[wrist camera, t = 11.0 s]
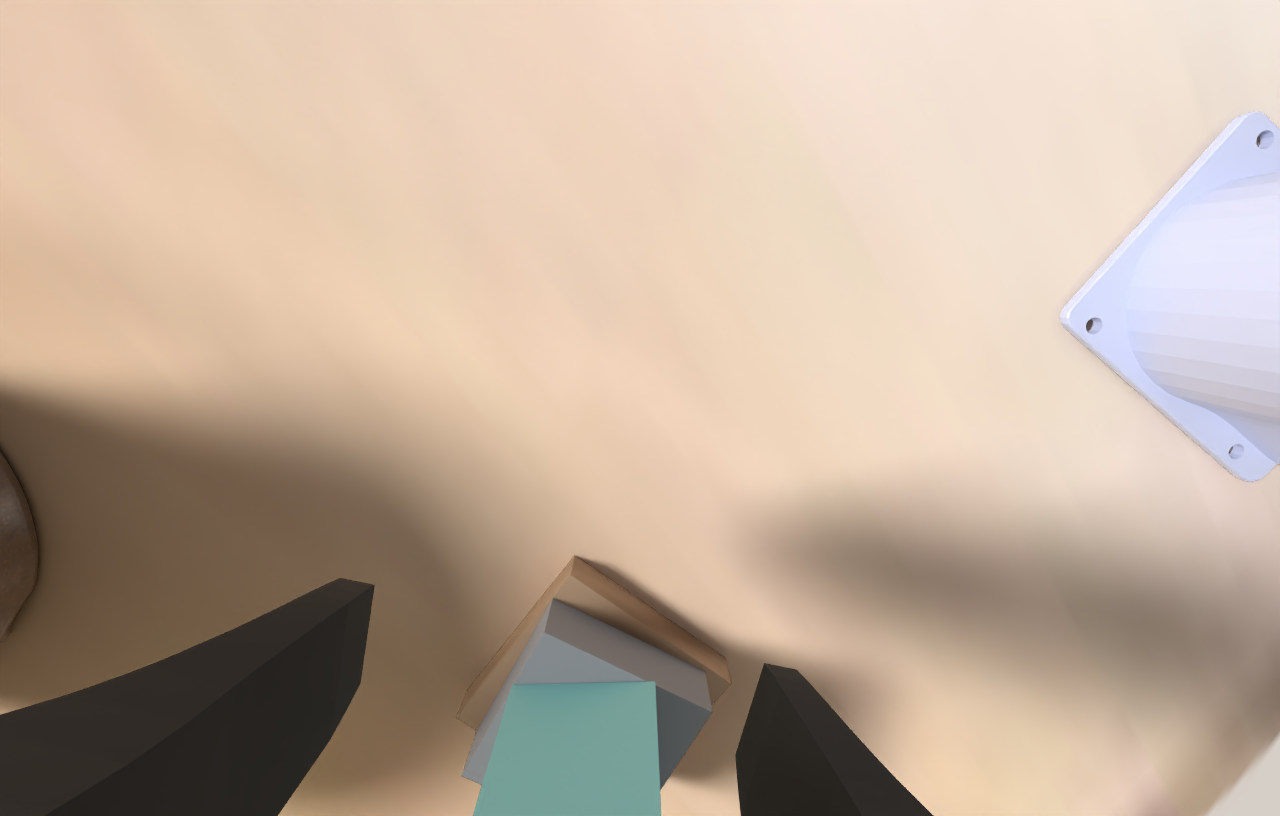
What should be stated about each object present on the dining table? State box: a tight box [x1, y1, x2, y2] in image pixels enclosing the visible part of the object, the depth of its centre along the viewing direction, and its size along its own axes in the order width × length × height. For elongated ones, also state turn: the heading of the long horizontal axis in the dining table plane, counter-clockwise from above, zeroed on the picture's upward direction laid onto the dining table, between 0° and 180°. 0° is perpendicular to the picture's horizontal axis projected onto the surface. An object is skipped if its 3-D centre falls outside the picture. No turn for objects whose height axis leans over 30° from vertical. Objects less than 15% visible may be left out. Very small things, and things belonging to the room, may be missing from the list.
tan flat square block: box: [456, 556, 731, 730], centre depth 22 cm, size 7×7×2 cm
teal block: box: [473, 681, 661, 816], centre depth 17 cm, size 4×4×5 cm
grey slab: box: [461, 598, 712, 790], centre depth 20 cm, size 6×6×2 cm
